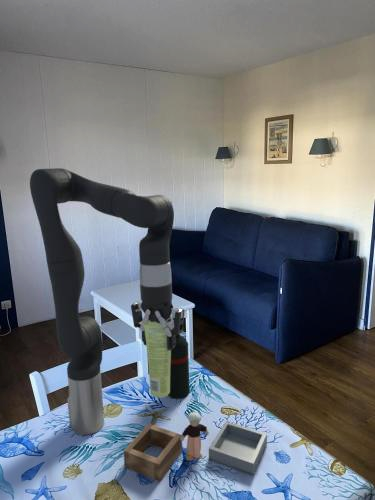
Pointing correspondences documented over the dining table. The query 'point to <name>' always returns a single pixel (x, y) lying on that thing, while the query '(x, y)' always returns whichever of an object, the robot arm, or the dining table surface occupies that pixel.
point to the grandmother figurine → (194, 436)
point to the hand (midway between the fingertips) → (158, 346)
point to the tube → (158, 359)
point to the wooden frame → (149, 464)
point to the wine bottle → (179, 369)
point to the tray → (238, 447)
